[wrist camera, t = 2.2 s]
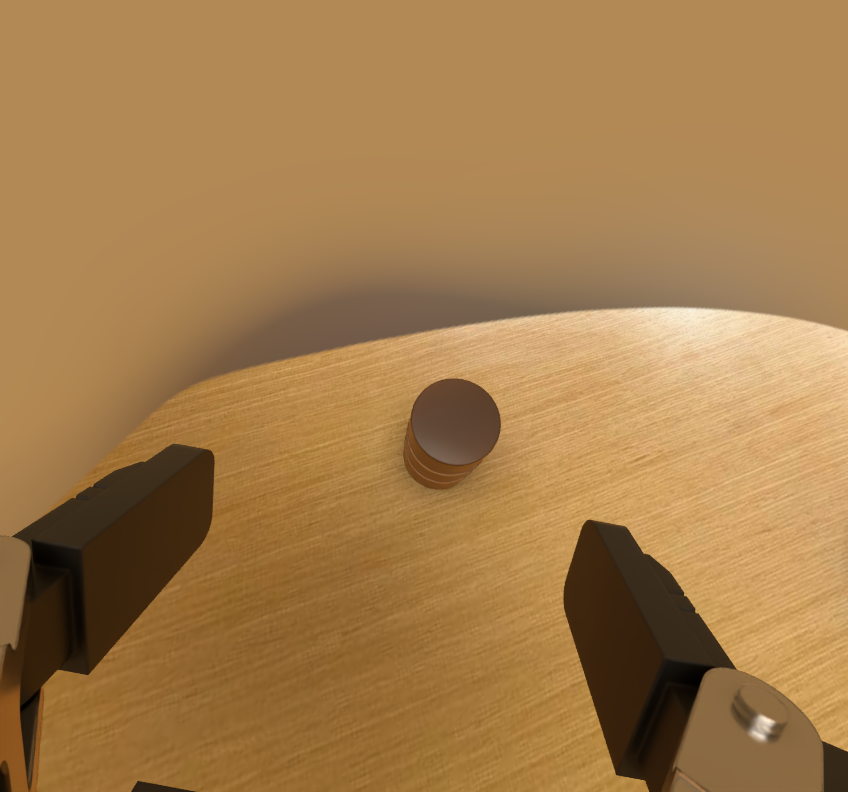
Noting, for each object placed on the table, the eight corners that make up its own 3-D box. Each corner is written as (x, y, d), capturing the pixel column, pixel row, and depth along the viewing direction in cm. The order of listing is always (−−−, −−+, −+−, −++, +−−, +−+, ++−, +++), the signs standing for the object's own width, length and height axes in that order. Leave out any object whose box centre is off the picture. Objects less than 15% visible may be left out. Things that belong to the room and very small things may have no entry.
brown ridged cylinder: (390, 438, 30) (394, 399, 23) (452, 410, 31) (474, 363, 24) (421, 502, 29) (435, 483, 22) (484, 471, 30) (518, 442, 23)
